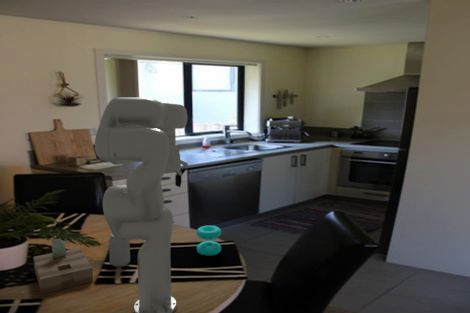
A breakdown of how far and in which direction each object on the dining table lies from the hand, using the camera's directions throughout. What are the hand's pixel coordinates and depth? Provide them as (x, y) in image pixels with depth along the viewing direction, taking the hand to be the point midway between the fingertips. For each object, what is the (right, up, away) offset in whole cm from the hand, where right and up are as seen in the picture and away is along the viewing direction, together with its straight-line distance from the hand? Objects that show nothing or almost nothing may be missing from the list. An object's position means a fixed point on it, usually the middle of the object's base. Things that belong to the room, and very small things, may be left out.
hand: (165, 187), depth 139 cm
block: (-36, -31, -2) cm, 47 cm away
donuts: (+14, -28, +19) cm, 37 cm away
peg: (-39, -30, +2) cm, 49 cm away
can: (-19, -30, +7) cm, 36 cm away
